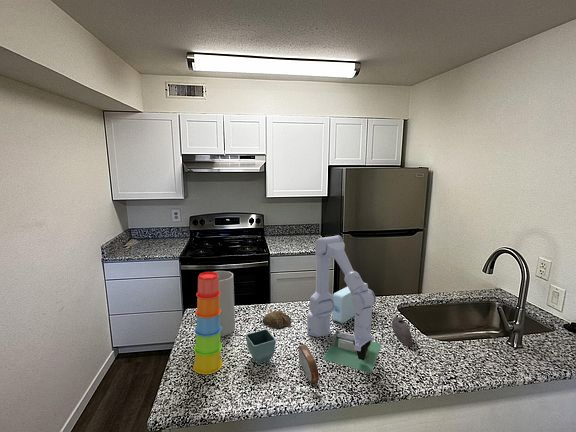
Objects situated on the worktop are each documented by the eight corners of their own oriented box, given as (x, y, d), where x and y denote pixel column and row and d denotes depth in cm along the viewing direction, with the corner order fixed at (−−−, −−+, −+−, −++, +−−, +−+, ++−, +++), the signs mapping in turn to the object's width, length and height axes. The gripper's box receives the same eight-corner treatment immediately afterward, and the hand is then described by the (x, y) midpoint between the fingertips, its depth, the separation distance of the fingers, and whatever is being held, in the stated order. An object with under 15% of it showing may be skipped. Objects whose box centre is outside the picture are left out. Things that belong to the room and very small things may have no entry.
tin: (319, 388, 100) (320, 364, 99) (310, 389, 99) (310, 366, 98) (305, 360, 115) (305, 339, 113) (296, 361, 114) (296, 340, 112)
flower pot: (254, 369, 110) (253, 346, 108) (245, 356, 117) (245, 334, 116) (276, 362, 114) (276, 339, 112) (267, 349, 121) (266, 328, 120)
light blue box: (342, 325, 140) (343, 297, 138) (332, 320, 144) (332, 293, 142) (368, 308, 156) (369, 283, 154) (358, 304, 160) (359, 280, 158)
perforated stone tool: (416, 350, 120) (417, 334, 119) (402, 350, 120) (403, 334, 119) (402, 330, 135) (403, 315, 134) (390, 330, 135) (391, 315, 134)
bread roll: (259, 321, 144) (258, 311, 143) (279, 313, 152) (279, 303, 151) (276, 332, 134) (276, 321, 134) (297, 322, 143) (297, 312, 142)
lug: (359, 355, 115) (360, 344, 115) (363, 348, 120) (363, 337, 120) (367, 358, 114) (368, 346, 113) (370, 350, 119) (371, 339, 118)
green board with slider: (322, 360, 114) (322, 349, 113) (338, 334, 132) (338, 325, 131) (371, 375, 106) (371, 363, 105) (381, 345, 124) (382, 335, 123)
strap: (332, 339, 123) (332, 335, 123) (335, 334, 127) (335, 331, 126) (369, 347, 116) (369, 344, 116) (371, 342, 120) (372, 338, 120)
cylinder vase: (240, 326, 139) (239, 273, 135) (222, 340, 128) (220, 283, 124) (219, 320, 145) (216, 269, 141) (200, 333, 134) (197, 278, 130)
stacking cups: (206, 354, 118) (202, 268, 113) (228, 361, 114) (224, 272, 108) (187, 370, 109) (181, 277, 104) (210, 378, 105) (205, 282, 99)
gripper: (370, 336, 101) (368, 373, 103) (378, 317, 114) (376, 350, 116) (348, 331, 104) (347, 367, 106) (359, 313, 117) (358, 346, 119)
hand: (361, 358), depth 111 cm, fingers closed
